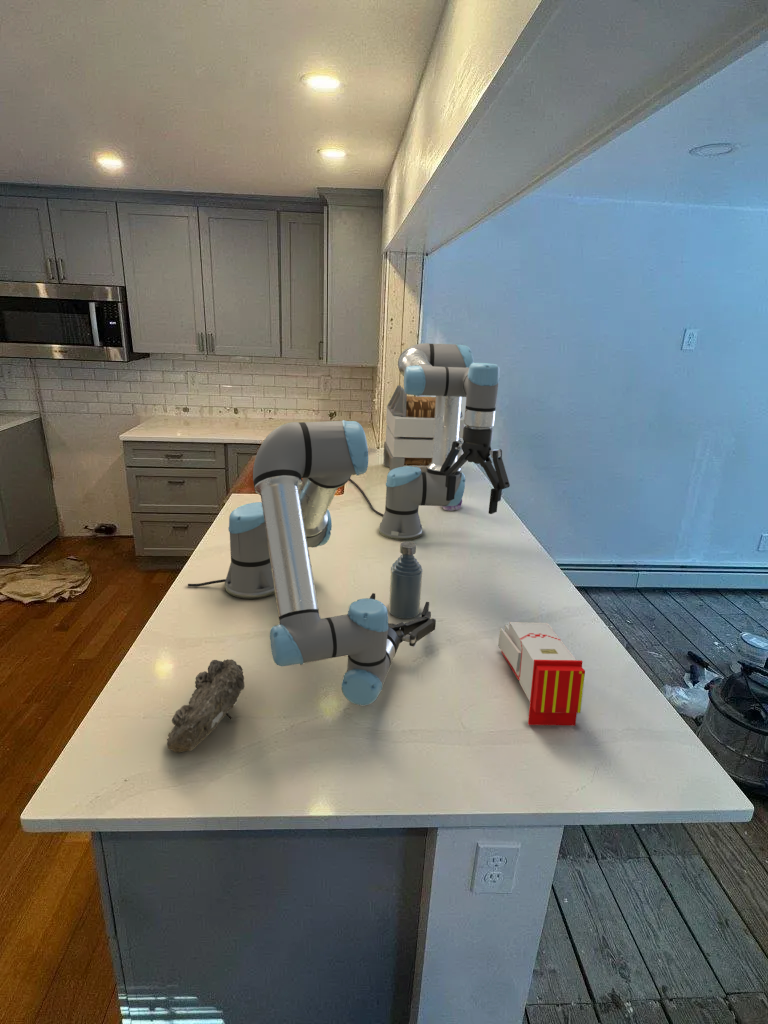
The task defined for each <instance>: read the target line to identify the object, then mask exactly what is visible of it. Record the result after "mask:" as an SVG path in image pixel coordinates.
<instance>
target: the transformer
mask: <svg viewBox="0 0 768 1024" xmlns="http://www.w3.org/2000/svg"><path fill="white" fill-rule="evenodd" d="M435 403H436V396H416V395H408V394H406V393H405V391H404V387H402V385H399V384H398V385H397V386H396V388H395V390H394V392H393V394H392V395H391V398H390V400H389V402H388V404H387V405H386V413H385V414H386V415H385V423H386V428H385V438H384V442H383V466H384V467H388V468H389V471H391V470H392V469H395V468H398V467H404V466H413V467H427V466H428V465H429V464H430V463H431V462H432V451H433V435H434V419H435ZM464 427H465V424H464V418H463V411H461V413H460V427H459V440H460V441H461V442H462V443H463V428H464ZM462 454H463V450H462V448H461V449H460V451H459V453H458V455H457V460H458V459H459V457H460V456H461V455H462Z"/></svg>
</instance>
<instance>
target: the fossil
mask: <svg viewBox="0 0 768 1024" xmlns="http://www.w3.org/2000/svg"><path fill="white" fill-rule="evenodd" d="M243 670H244V669H243V667H242V665H240V664H237V662H236V661H235V660H234V659H232V658H231V659H227V658H226V659H224V660H223V661H222V660H217V659H212V660H211V661H210V663H209V665H208V666H207V671H201V672H199V673H198V674H197V675H196V676H195V680H194V684H195V685H194V687H195V689H194V690H193V693H192V694H191V697H190V698H189V700H188V704H184V705H182V706H181V707H180V709H177V710H176V711H175V713H174V715H173V716H172V718H171V723H172V724H173V727H172V730H171V731H170V732H168V734H167V738H166V741H167V742H166V745H167V749H168V750H169V751H173V752H174V753H176V754H178V753H182V752H188V751H189V752H192V751H193V750H195V748H196V747H197V746H199V744H200V743H201V742H203V741H204V740H205V739H206V738H207V737H208V736H209V735H210V734H211V733H212V732H214V730H215V729H217V727H218V726H219V724H220V722H221V721H222V720H223V719H224V718H225V716H226V717H227V719H229V720H233V717H232V715H230V714H229V710H230V709H231V708H234V706H235V704H236V703H237V702H238V699H239V697H240V695H241V693H242V691H243V690H245V689H244V688H245V675H244V671H243Z"/></svg>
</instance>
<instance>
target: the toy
mask: <svg viewBox="0 0 768 1024" xmlns="http://www.w3.org/2000/svg"><path fill="white" fill-rule="evenodd" d="M498 636H499V637H498V642H497V646H498V647H499V649H500V653H501V654H502V656H503V657H504V659H505V661H506V663H507V664H508V665H509V667H510V669H511V671H512V672H513V674H514V676H515V677H516V679H517V680H518V681H519V684H520V686H521V688H522V690H523V692H524V694H525V696H526V698H527V700H528V701H529V710H528V719H527V724H528V726H573V727H575V726H576V724H577V723H576V722H577V715H578V714H581V710H582V709H581V708H582V701H583V692H584V683H585V674H586V670H585V669H584V668H583V662H584V661H583V660H581V659H580V660H578V659H576V657H575V656H574V655H573V654H572V653H571V651H570V650H569V648H568V647H567V645H565V644H564V642H563V641H562V640H561V638H560V637H559V636H558V635H557V633H556V631H555V630H554V629H553V628H552V627H551V626H550V624H549V622H527V621H526V622H525V621H523V622H521V621H509V624H504V628H503V627H500V628H499V634H498Z"/></svg>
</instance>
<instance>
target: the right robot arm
mask: <svg viewBox="0 0 768 1024" xmlns="http://www.w3.org/2000/svg"><path fill="white" fill-rule="evenodd" d="M397 367H398V371H399V372H400V374H401V376H402V377H403V389H404V391H405V393H406V394H407V396H415V397H417V396H418V397H421V396H425V397H436V403H435V419H434V435H433V451H432V462H431V463H430V464H429V465H428V466H426V471H422V469H421V468H420V466H407V465H404V467H398V468H395V469H392V470H391V471H390V470H388V473H387V475H386V482H385V487H386V488H385V489H386V490H385V504H384V505H385V507H384V508H385V509H384V513H381V512H379V511H378V510H376V509H375V508H374V507H373V505H372V503H371V501H370V500H369V498H368V496H367V495H366V494H365V492H364V491H363V489H362V488H361V487H360V486H359V485H358V484H357V483H356V482H355V481H354V480H352V479H351V478H350V479H349V480H348V481H350V482H351V483H352V484H353V485H354V486H355V487H356V488H357V489H358V490H359V491H360V493H361V494H362V496H363V497H364V498H365V500H366V502H367V503H368V505H369V508H371V510H372V511H373V512H374V513H376V514H377V515H380V516H381V517H382V519H381V522H379V526H378V533H379V534H380V535H381V536H382V537H385V538H387V539H389V540H395V541H410V540H415V539H418V538H420V537H421V536H422V535H423V525H422V524H421V518H420V515H419V507H420V506H427V507H428V506H429V507H442V506H444V507H447V506H456V505H458V504H459V503H460V501H461V499H462V500H463V496H464V493H465V489H466V476H465V474H464V473H463V472H462V467H463V465H465V464H466V463H473V464H476V465H480V466H481V468H483V470H484V472H485V474H486V476H487V478H488V479H489V481H490V483H491V485H492V487H493V488H491V489H490V494H489V495H490V496H489V503H488V515H493V514H495V513H497V511H498V505H499V502H501V499H502V493H503V490H504V489H508V488H510V486H511V484H510V481H509V478H508V474H507V471H506V467H505V464H504V461H503V450H502V449H501V448H499V449H492V443H493V438H494V429H493V428H494V426H495V418H496V408H497V402H498V401H497V400H498V391H499V383H500V379H501V378H500V366H499V365H498V364H496V363H489V362H475V361H474V356H473V352H472V349H471V348H470V347H469V346H468V345H465V344H458V343H429V342H423V343H417V344H414V345H411V346H408V347H406V348H405V349H404V350H403V351H402V352H401V353H400V354H399V357H398V360H397ZM462 398H465V407H464V408H465V409H464V417H463V419H464V428H463V438H462V441H463V443H462V442H461V441H460V440H459V427H460V413H461V412H462ZM461 448H462V453H461V456H460V457H459V459H458V460H457V455H458V453H459V451H460V449H461Z"/></svg>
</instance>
